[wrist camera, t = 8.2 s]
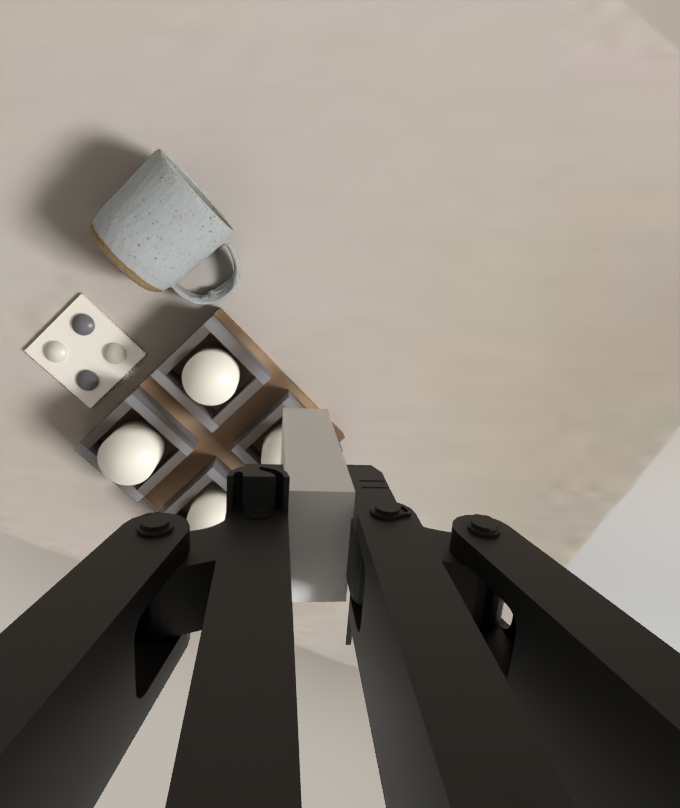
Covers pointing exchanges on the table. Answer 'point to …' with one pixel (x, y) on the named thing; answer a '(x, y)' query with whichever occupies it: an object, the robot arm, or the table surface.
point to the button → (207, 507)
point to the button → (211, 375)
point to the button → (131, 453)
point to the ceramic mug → (163, 229)
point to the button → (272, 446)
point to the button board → (203, 419)
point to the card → (85, 351)
